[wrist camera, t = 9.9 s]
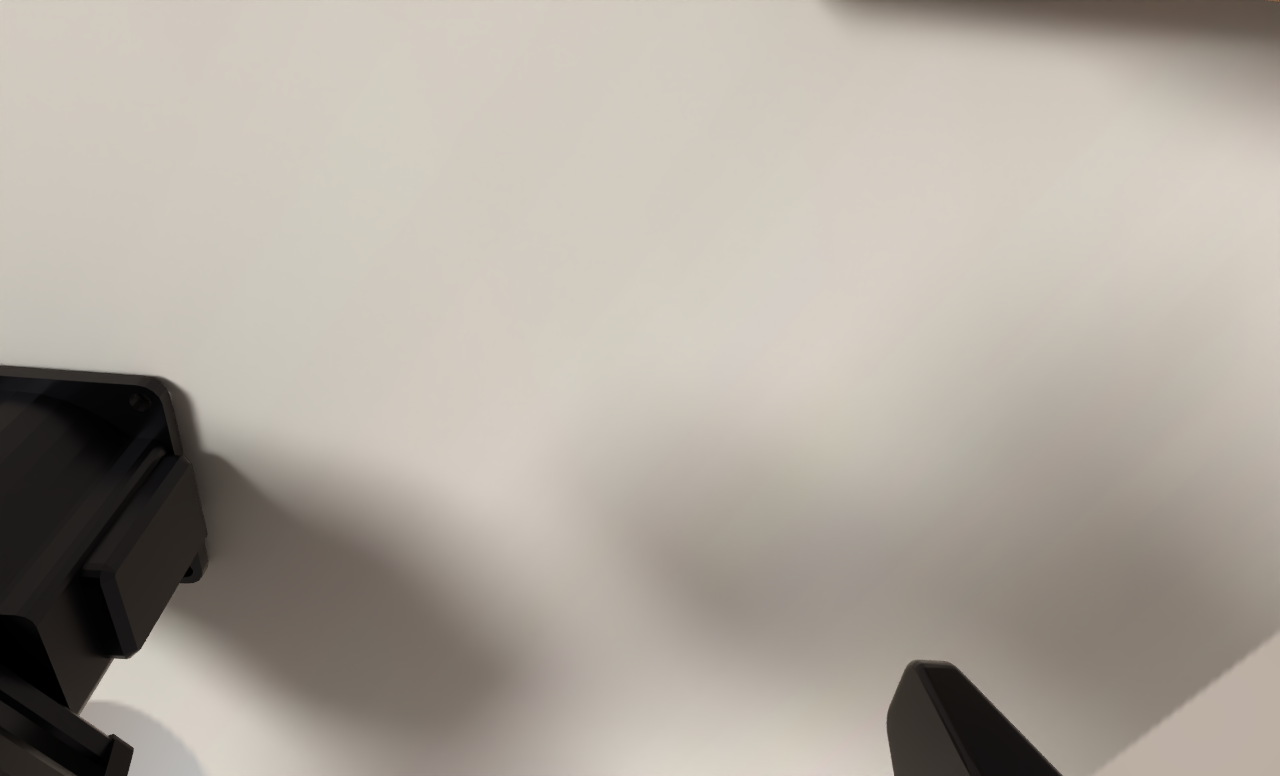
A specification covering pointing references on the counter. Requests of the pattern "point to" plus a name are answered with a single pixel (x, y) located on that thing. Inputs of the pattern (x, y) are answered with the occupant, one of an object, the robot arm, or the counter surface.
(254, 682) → the counter surface
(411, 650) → the counter surface
